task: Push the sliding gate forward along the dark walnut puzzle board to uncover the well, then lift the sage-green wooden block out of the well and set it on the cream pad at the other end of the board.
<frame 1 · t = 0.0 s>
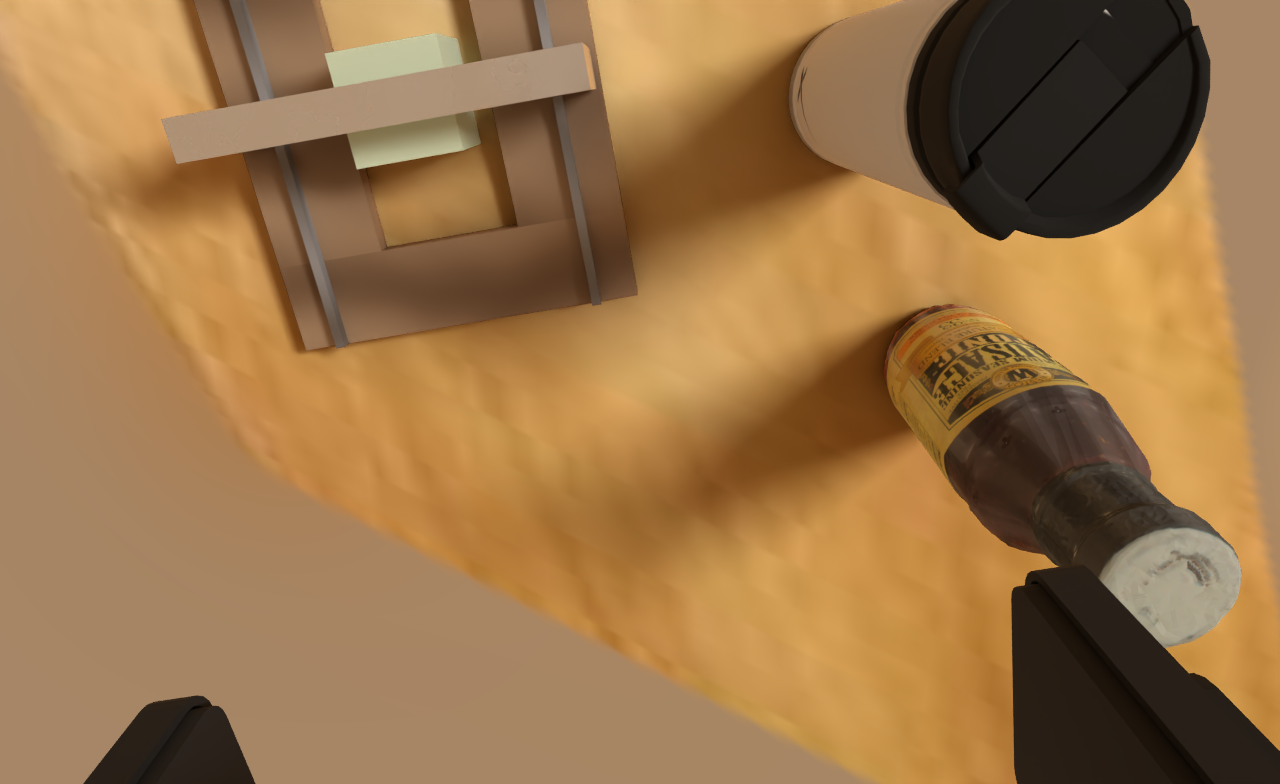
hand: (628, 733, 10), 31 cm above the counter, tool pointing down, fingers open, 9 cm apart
travel mug: (854, 96, 37), on the counter
sauce bottle: (934, 359, 41), on the counter
block: (421, 101, 37), resting in board
board: (396, 3, 35), on the counter
gate: (396, 102, 33), point 4 cm above the counter, slide at 0.0 cm
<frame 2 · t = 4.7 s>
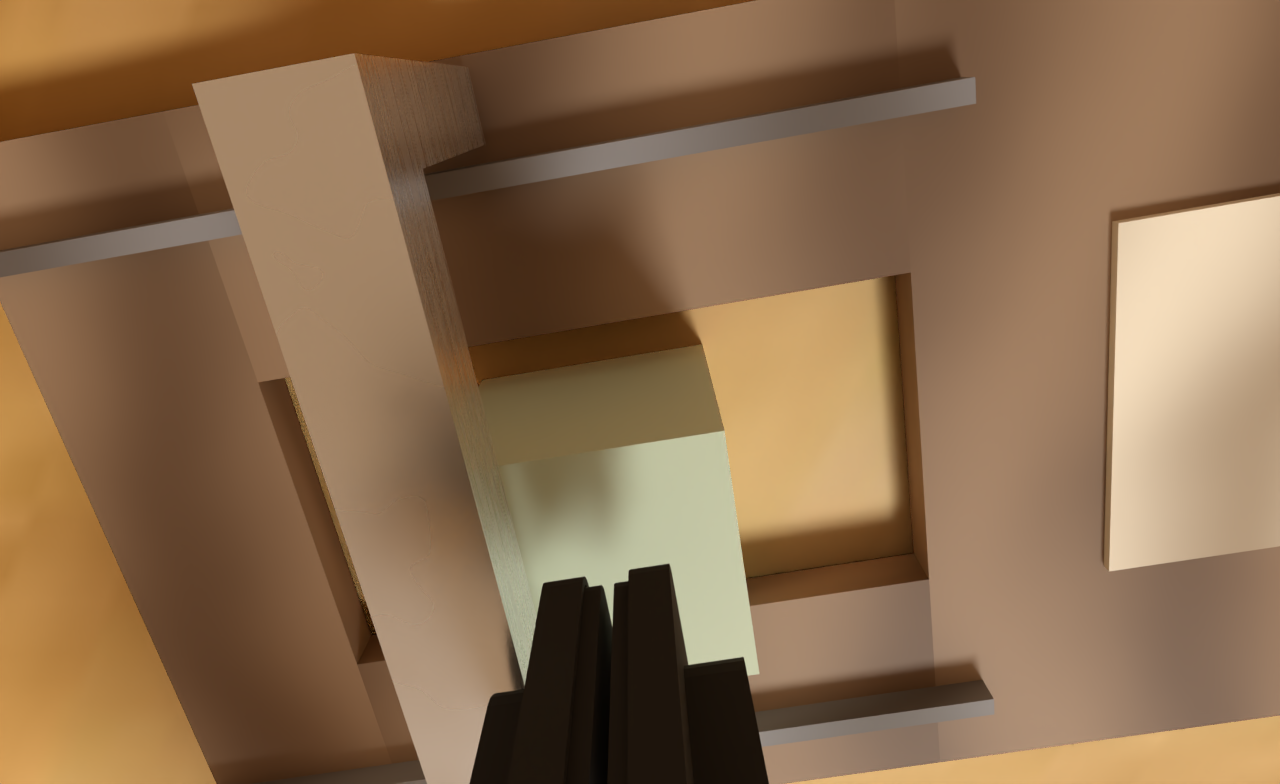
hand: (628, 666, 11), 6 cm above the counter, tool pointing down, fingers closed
block: (611, 461, 17), resting in board
board: (805, 432, 17), on the counter
gate: (502, 590, 13), point 4 cm above the counter, slide at 1.7 cm, touching gripper
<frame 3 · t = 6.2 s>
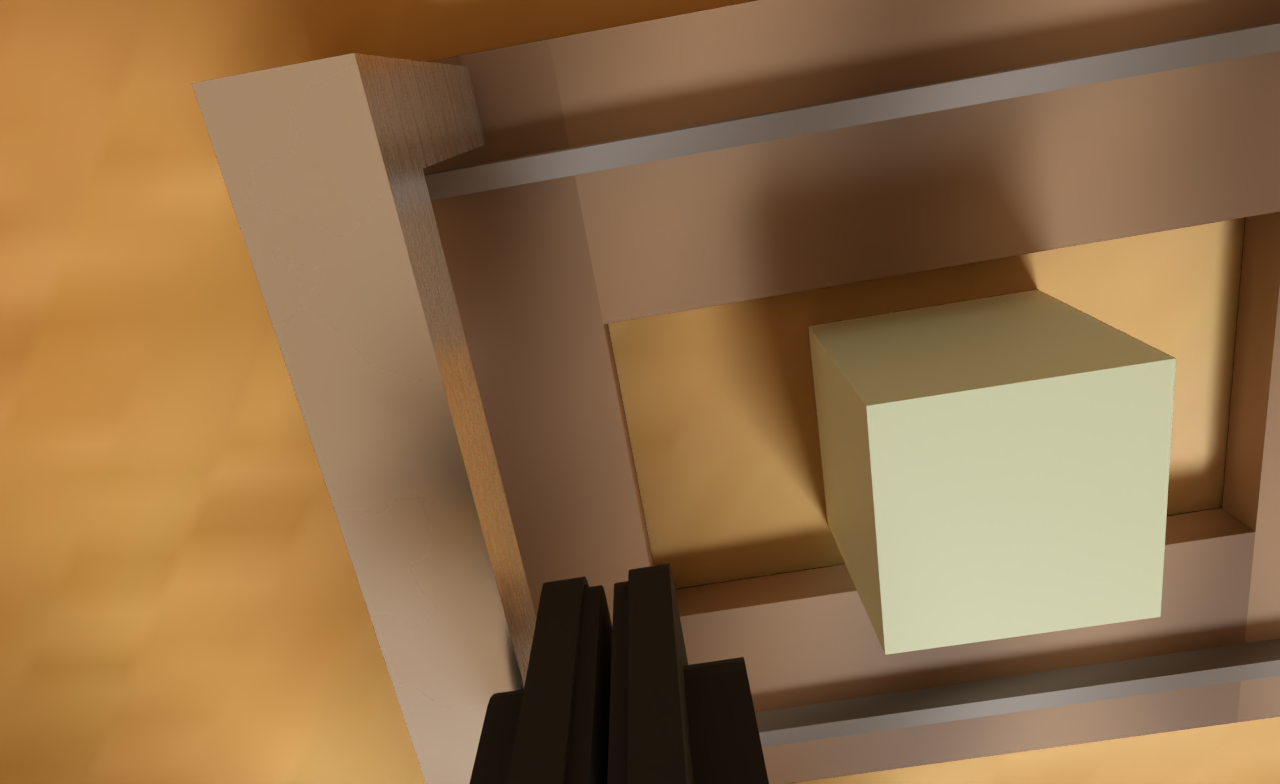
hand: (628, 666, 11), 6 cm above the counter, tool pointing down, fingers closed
block: (926, 411, 17), resting in board
board: (1130, 381, 16), on the counter
gate: (502, 591, 13), point 4 cm above the counter, slide at 8.1 cm, touching gripper
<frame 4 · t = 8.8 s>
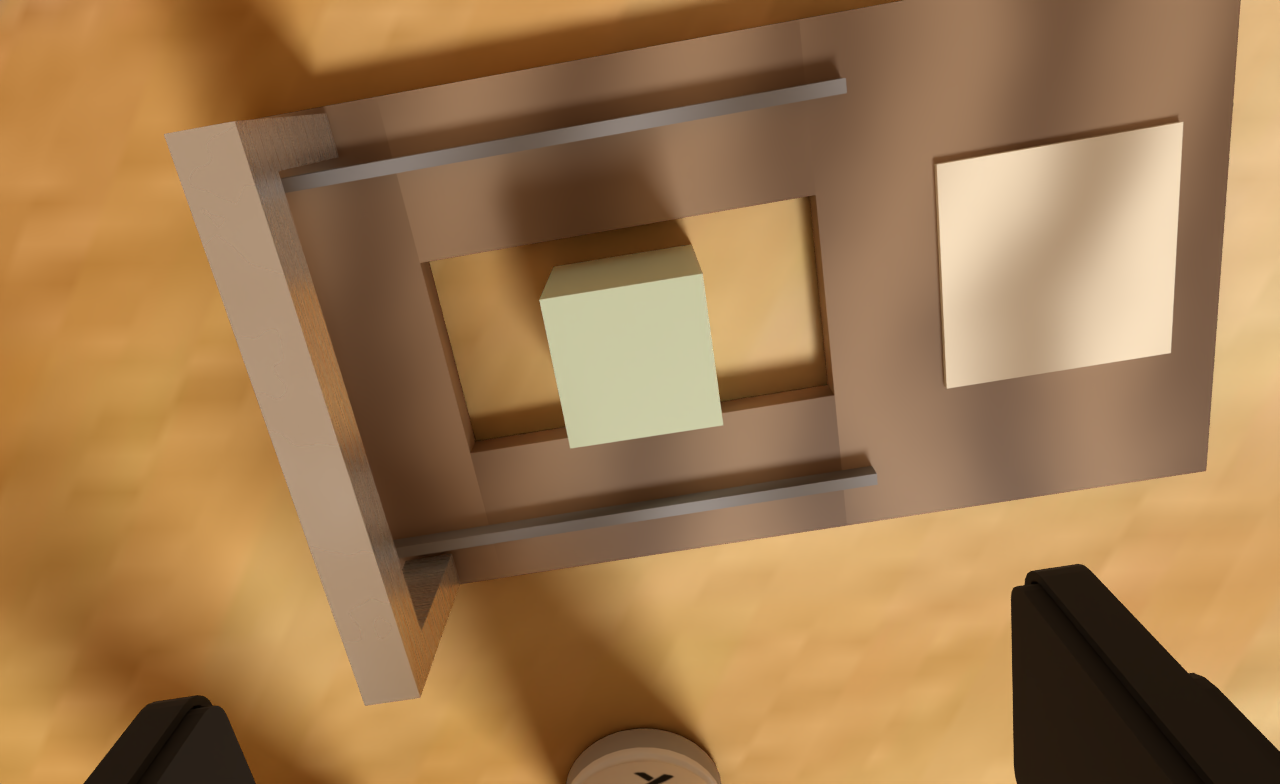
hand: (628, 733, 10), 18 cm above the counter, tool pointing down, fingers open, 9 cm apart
travel mug: (640, 780, 34), on the counter
block: (633, 321, 27), resting in board
board: (756, 302, 27), on the counter
gate: (345, 409, 23), point 4 cm above the counter, slide at 8.2 cm
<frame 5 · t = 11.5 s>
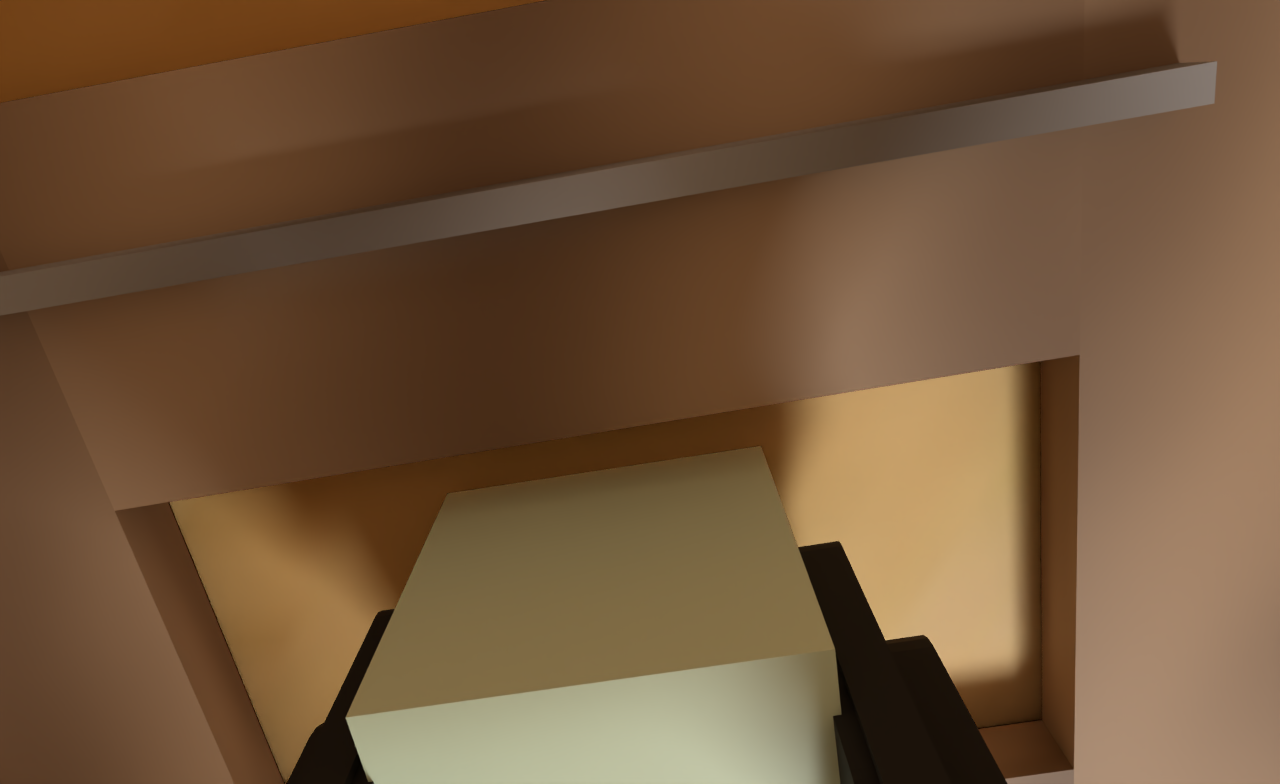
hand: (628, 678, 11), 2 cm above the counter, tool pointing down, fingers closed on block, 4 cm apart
block: (629, 603, 12), resting in board, touching gripper
board: (901, 564, 12), on the counter
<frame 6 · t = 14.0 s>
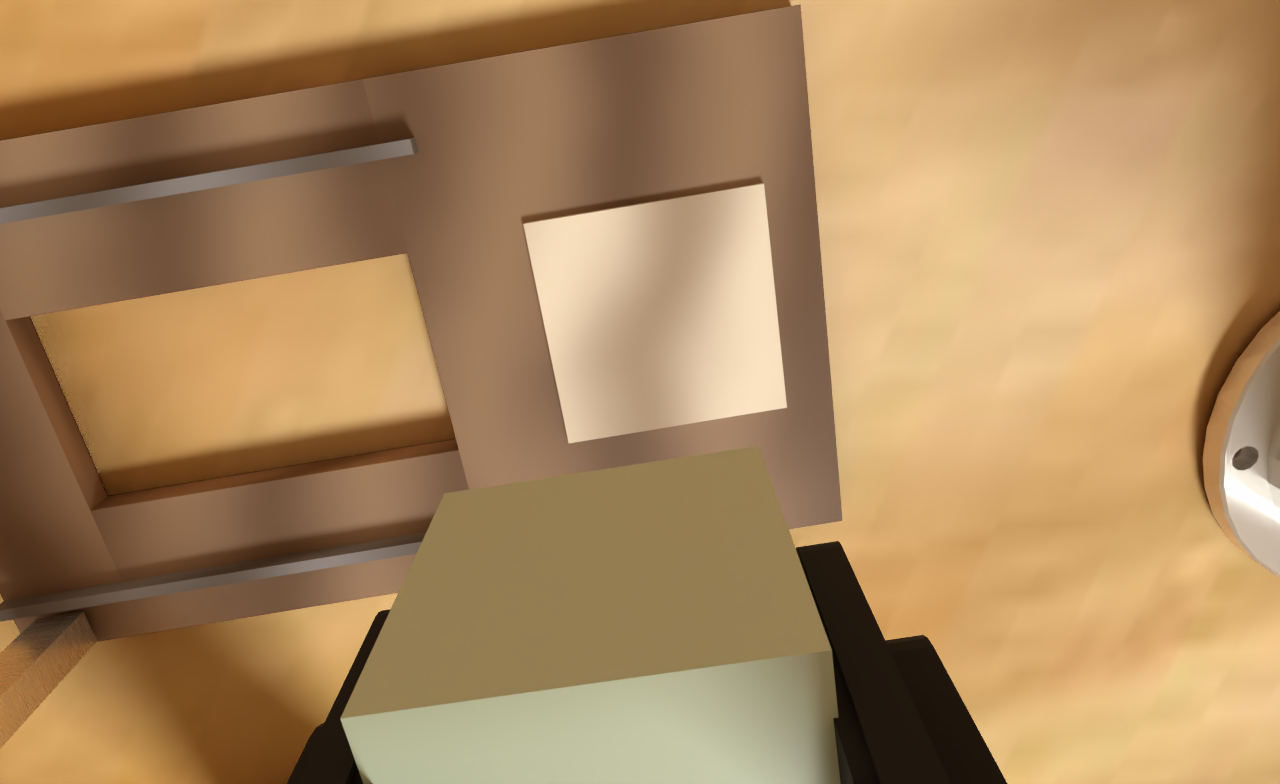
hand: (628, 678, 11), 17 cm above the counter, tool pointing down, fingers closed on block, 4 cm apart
block: (626, 603, 12), point 15 cm above the counter, touching gripper
board: (378, 356, 26), on the counter
when the fingers open (4 cm above the counter, at t = 17.0 s): block drops 1 cm, resting on board.
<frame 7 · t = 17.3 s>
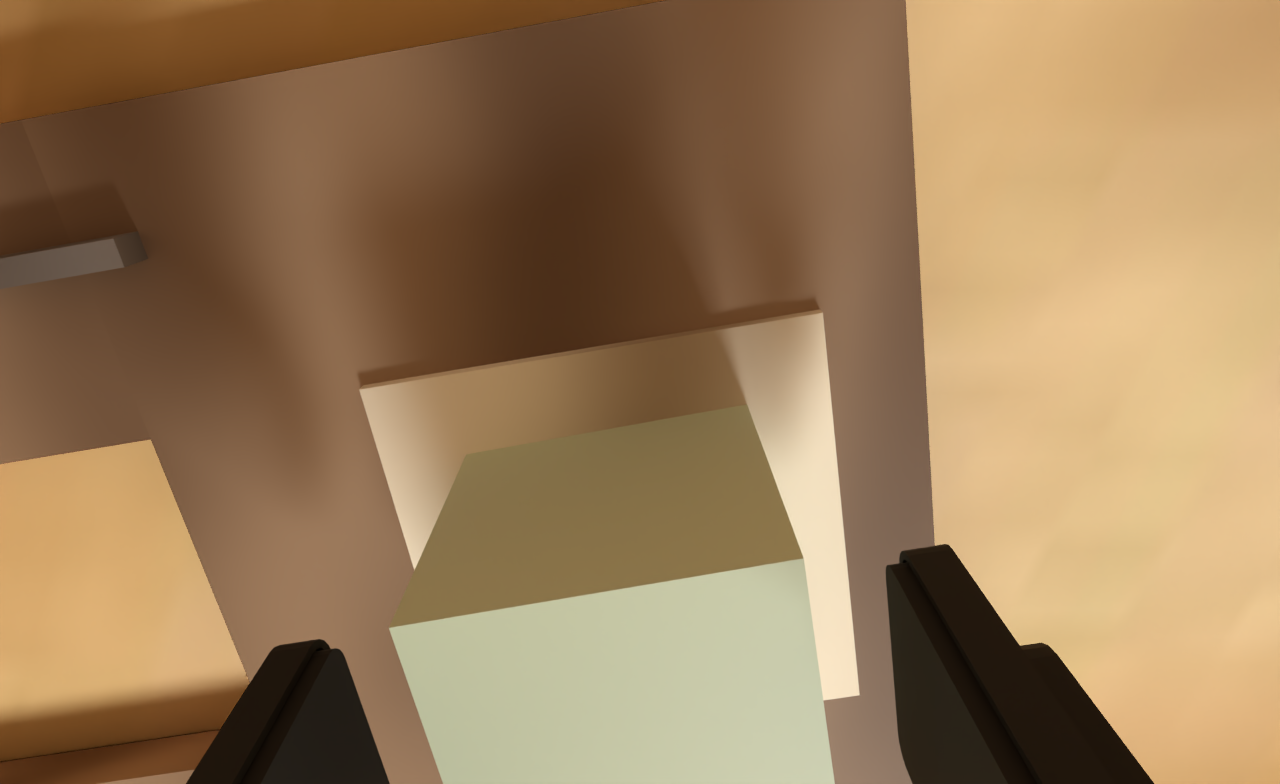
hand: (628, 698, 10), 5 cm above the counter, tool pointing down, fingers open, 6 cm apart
block: (632, 552, 14), point 1 cm above the counter, touching board
board: (140, 594, 15), on the counter
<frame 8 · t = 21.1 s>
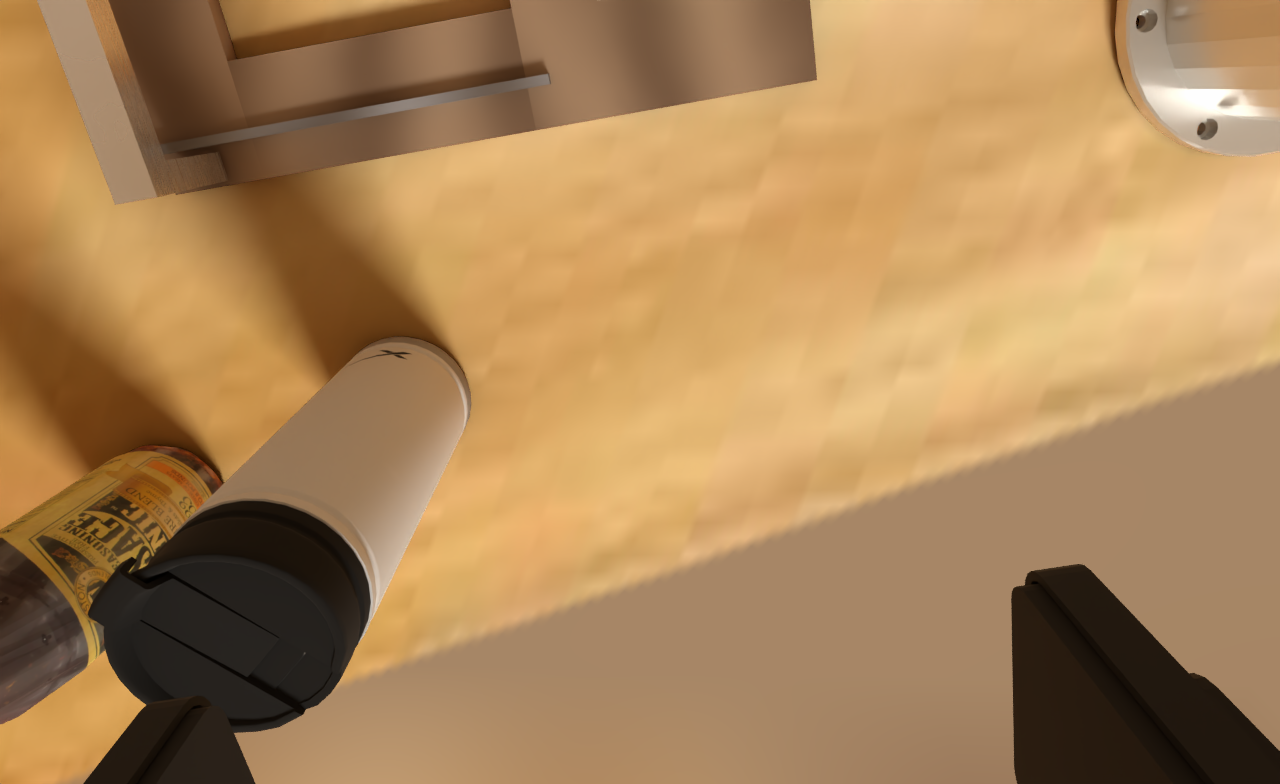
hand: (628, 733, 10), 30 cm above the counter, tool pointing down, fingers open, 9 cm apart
travel mug: (405, 393, 41), on the counter
sauce bottle: (173, 488, 42), on the counter
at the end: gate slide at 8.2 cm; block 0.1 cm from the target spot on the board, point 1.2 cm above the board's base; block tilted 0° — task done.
